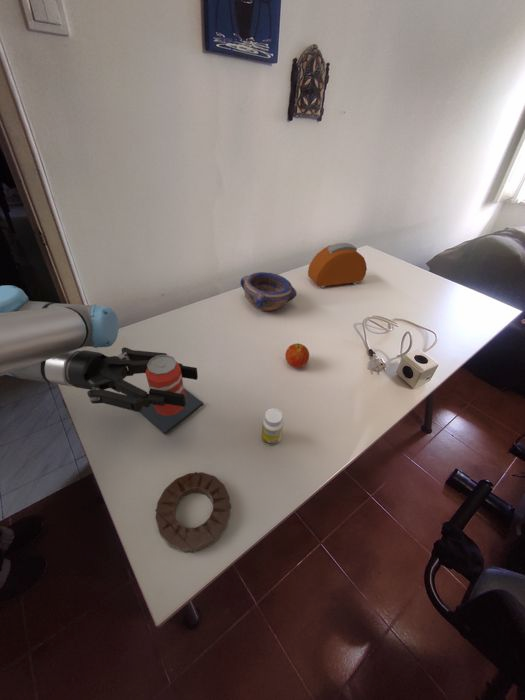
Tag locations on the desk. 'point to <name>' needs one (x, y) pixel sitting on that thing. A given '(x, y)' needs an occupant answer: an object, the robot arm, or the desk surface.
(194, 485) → the socket
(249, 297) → the bowl
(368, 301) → the desk surface
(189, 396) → the mat
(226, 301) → the desk surface
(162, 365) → the beverage can
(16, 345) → the robot arm
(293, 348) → the fruit
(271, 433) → the supplement bottle
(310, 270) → the orange toaster
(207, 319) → the desk surface
